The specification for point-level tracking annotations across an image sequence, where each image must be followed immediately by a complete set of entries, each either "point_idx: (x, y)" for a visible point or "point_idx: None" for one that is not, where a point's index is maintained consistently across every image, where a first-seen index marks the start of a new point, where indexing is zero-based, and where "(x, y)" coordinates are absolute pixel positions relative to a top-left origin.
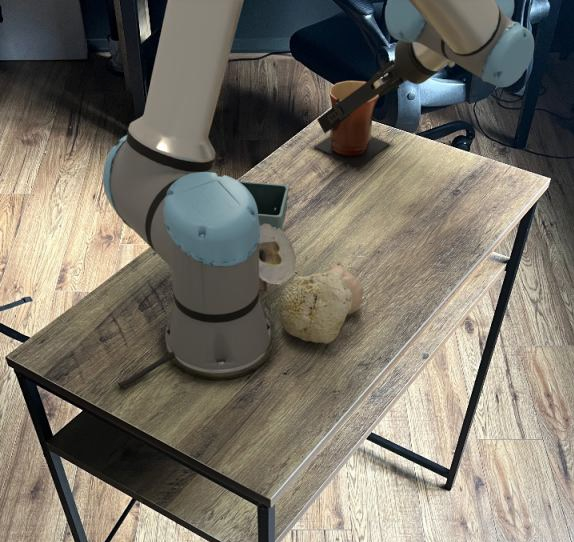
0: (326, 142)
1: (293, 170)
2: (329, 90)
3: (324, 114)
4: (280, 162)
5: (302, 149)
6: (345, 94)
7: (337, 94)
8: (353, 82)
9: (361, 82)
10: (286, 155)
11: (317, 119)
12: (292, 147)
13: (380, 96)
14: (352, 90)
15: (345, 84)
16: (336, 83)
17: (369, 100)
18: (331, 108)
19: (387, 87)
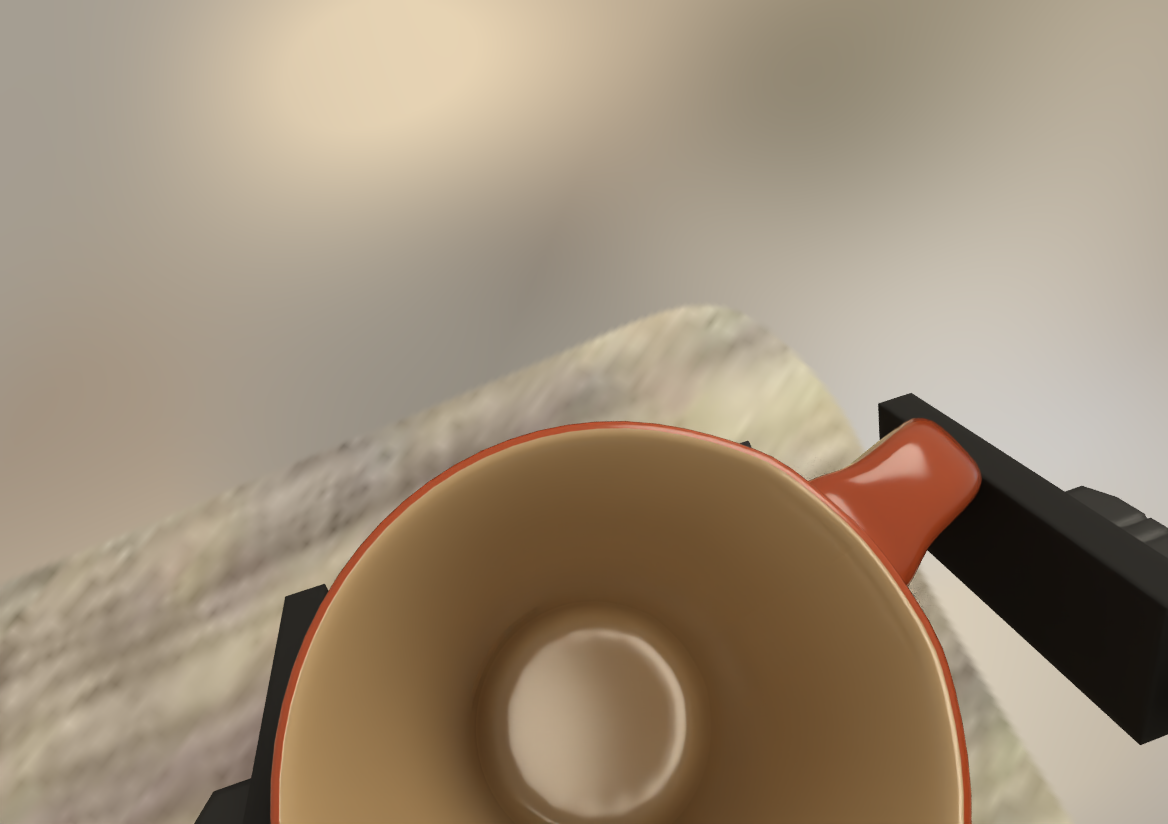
0: None
1: (107, 727)
2: (367, 541)
3: (271, 685)
4: (111, 589)
5: (336, 525)
6: (649, 522)
7: (540, 515)
8: (779, 488)
9: (865, 552)
10: (202, 535)
11: (286, 601)
12: (299, 472)
13: (1030, 644)
14: (736, 533)
15: (674, 466)
16: (558, 432)
17: (833, 767)
18: (251, 789)
19: (1158, 713)
